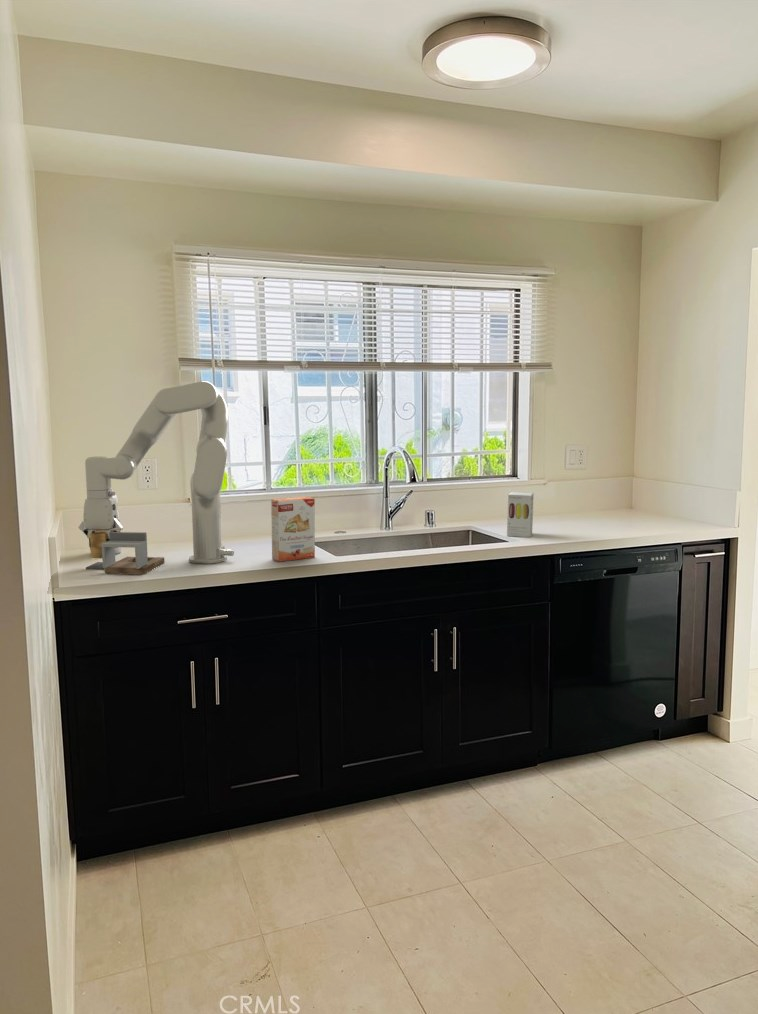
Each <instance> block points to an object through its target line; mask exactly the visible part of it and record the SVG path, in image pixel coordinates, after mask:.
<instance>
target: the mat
mask: <svg viewBox="0 0 758 1014" xmlns="http://www.w3.org/2000/svg"><path fill="white" fill-rule="evenodd" d="M100 569H105V568H103V561H97V562H95V563H92V564H90V565H88V566H86V567H85V570H100Z"/></svg>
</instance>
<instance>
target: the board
mask: <svg viewBox="0 0 758 1014" xmlns="http://www.w3.org/2000/svg"><path fill="white" fill-rule="evenodd" d="M165 562H166V561H165V557H164V556H163V557H161V556H158V557H157V556H148V564H147V565H145V566H143V567H141V568H139V569H136V558H135V556H125V557H123V558H121V559H120V560H117V561H116V563H115V564H113V565H111V566H109V567H107V568H105V570H104V574H113V573H121V574H123V575H124V574H125V575H146V574H148V573H149V572H152V571H153V570H155V569H157V568H159V567H161V566H162V565H164V564H165ZM158 566H159V567H158ZM156 567H157V568H156ZM154 568H155V569H154ZM152 569H153V570H152ZM147 572H148V573H147Z"/></svg>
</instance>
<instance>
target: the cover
mask: <svg viewBox="0 0 758 1014" xmlns="http://www.w3.org/2000/svg"><path fill="white" fill-rule="evenodd" d="M109 535H110V541H107V542H105V543H102V558H101V559H102V561H101V562H103V568H107V567H109V566H111V565H113V564H115V563H116V562H117V561H116V560H117V559H116V554H115V547H121V548H134V553H135V555H134V557H135V558H136V569H139V568H141V567H143V566H145V565H147V564H148V557H149V556H148V541H147V540H148V539H147V535H148V534H147V532H143V531H142V532H141V531H140V532H137V531H136V532H135V531H132V532H131V531H128V532H127V531H120V532H110V533H109Z"/></svg>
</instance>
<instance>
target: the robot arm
mask: <svg viewBox="0 0 758 1014" xmlns="http://www.w3.org/2000/svg"><path fill="white" fill-rule="evenodd" d="M197 410H200V411H201V415H202V416H201V421H200V422H201V425H200V431H199V432H200V433H199V436H198V442H197V445H196V450H195V451H196V457H195V464H194V470H193V473H192V474H191V477H190V482H189V483H190V486H189V487H190V499H191V501H190V502H191V518H192V519H191V520H192V521H191V523H192V544H193V545H192V546H193V547H192V548H193V551H192V552H193V555H191V556H189V558H188V562H190V563H193V564H203V565H206V564H207V565H208V564H217V563H222V562H224V561H227V560H228V557H233V556H234V554H235V550H233V549H226V548H225V545H223V543H222V541H223V540H222V537H223V536H222V512H221V511H222V509H221V508H222V506H221V504H222V503H221V490H222V487H223V482H224V477H225V470H226V469H225V468H226V465H227V459H228V448H227V446H226V438H227V430H228V422H229V410H228V406H227V403H226V400H225V399H224V397H223V395H222V394H221V393H220V392H219V391H218V390H217V388H216V386H215V385H214V384H212V383H211V382H209V381H205V380H202V381H196V382H192V383H188V384H187V383H186V384H182V385H178V386H177V385H176V386H174V387H173V386H172V387H166V388H162V389H160V390H159V391H157V393H156V394H155V396H154V397H153V399H152V400H151V401H150V402H149V405H148V406H147V408H146V409H145V411H143V413H142V415H141V416H140V417H139V419H138V421H137V422H136V424H135V425H134V427H133V428H132V430H131V433H130V434H129V436H128V438H127V439H126V441H125V442H124V444H123V445H122V447H121V448H120V450H119V451H118V452H117V454H116V456H114V457H107V456H88V457H87V458H86V459H85V463H84V465H85V467H84V468H85V482H86V483H85V487H86V489H85V490H86V498H85V499H84V505H83V514H82V515H83V516H82V518H83V520H82V521H81V523H80V524H79V526H78V529H79V530H80V531H81V532H82V533H83V534H84V535H85V536H86V537H87V539H88V545H89V546H88V547H89V551H91V546H90V534H91V533H94V532H96V530H106V533H107V537H108V539H107V541H110V535H109V533H110V532H122V531H123V529H124V527H123V526H122V524H121V523H119V522H118V514H117V509H118V507H117V508H116V503H115V500H114V499H113V498H112V496H115V494H116V492H115V491H114V490H113V488H112V480H120V481H121V480H123V481H124V480H127V479H129V478H131V477H132V476H133V475H134V473H135V471H136V469H137V467H138V466H139V465H140V463H141V462H142V460H143V459H144V457H145V456H146V455H147V453H148V452H149V450H150V449H151V448H152V447H153V446H154V445H155V444H156V443H157V442H158V440H159V439H160V438H161V436H162V435H163V433H164V432H165V431H166V429H167V428H168V426H169V425H170V423H171V422H172V420H173V419H174V417H175V416H176V415H177V414H183V413H187V412H188V413H189V412H192V411H197ZM111 479H112V480H111ZM111 488H112V489H111ZM112 490H113V491H112ZM113 528H116V529H115V530H114V531H113Z"/></svg>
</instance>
